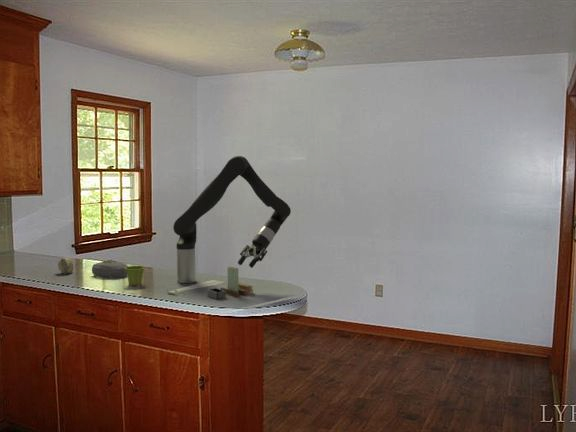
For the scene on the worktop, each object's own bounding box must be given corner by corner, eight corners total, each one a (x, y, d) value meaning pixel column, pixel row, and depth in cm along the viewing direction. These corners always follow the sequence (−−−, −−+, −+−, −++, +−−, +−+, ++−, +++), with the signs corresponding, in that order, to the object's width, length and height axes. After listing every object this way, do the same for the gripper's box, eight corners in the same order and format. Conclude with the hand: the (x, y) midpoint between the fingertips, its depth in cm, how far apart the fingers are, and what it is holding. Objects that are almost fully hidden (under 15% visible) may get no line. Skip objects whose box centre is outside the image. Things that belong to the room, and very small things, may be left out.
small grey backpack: (88, 276, 279) (113, 280, 269) (87, 261, 278) (112, 264, 268) (110, 271, 292) (135, 275, 282) (110, 257, 291) (135, 260, 281)
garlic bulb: (68, 278, 284) (67, 263, 280) (54, 275, 285) (52, 260, 281) (78, 270, 293) (76, 255, 289) (64, 267, 294) (63, 252, 290)
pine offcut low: (237, 289, 243) (237, 285, 243) (253, 293, 234) (253, 289, 234) (231, 290, 241) (231, 286, 241) (246, 294, 232) (246, 290, 232)
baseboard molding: (230, 285, 258) (212, 282, 265) (230, 279, 258) (212, 277, 265) (186, 298, 232) (167, 295, 239) (186, 292, 232) (167, 288, 239)
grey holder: (216, 296, 233) (216, 287, 233) (226, 299, 227) (226, 291, 227) (206, 298, 230) (206, 289, 229) (216, 301, 224) (216, 292, 223)
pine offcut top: (239, 286, 241) (239, 282, 241) (252, 289, 234) (252, 285, 234) (234, 287, 239) (234, 283, 239) (246, 290, 232) (246, 286, 232)
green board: (231, 292, 237) (231, 266, 236) (238, 294, 233) (238, 268, 232) (227, 293, 236) (227, 267, 235) (234, 295, 232) (234, 268, 230)
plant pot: (149, 283, 260) (148, 266, 259) (133, 287, 252) (133, 269, 251) (136, 281, 265) (136, 265, 264) (121, 285, 257) (121, 267, 256)
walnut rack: (237, 290, 245) (237, 284, 244) (255, 295, 234) (255, 289, 234) (219, 294, 238) (218, 287, 237) (237, 299, 227) (236, 293, 227)
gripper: (250, 232, 248) (230, 258, 241) (269, 234, 237) (249, 262, 230) (258, 241, 252) (240, 268, 245) (277, 245, 241) (258, 272, 234)
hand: (244, 265), depth 238 cm, fingers open, 8 cm apart
